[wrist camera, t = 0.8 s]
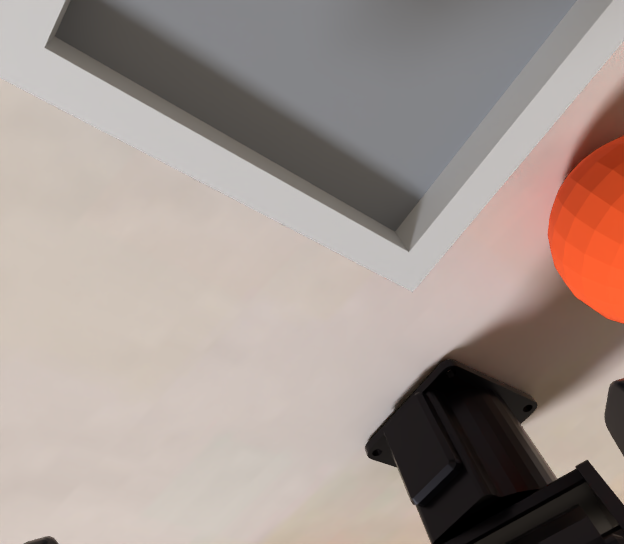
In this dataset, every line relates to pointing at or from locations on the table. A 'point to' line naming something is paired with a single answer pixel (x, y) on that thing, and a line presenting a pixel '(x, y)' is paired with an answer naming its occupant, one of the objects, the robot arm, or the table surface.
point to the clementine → (592, 230)
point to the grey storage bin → (323, 101)
